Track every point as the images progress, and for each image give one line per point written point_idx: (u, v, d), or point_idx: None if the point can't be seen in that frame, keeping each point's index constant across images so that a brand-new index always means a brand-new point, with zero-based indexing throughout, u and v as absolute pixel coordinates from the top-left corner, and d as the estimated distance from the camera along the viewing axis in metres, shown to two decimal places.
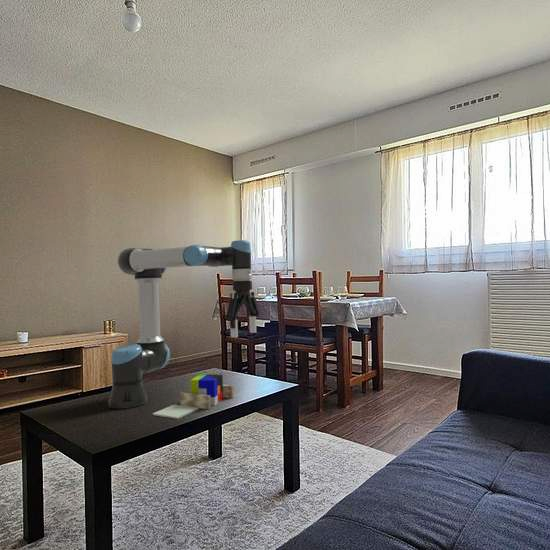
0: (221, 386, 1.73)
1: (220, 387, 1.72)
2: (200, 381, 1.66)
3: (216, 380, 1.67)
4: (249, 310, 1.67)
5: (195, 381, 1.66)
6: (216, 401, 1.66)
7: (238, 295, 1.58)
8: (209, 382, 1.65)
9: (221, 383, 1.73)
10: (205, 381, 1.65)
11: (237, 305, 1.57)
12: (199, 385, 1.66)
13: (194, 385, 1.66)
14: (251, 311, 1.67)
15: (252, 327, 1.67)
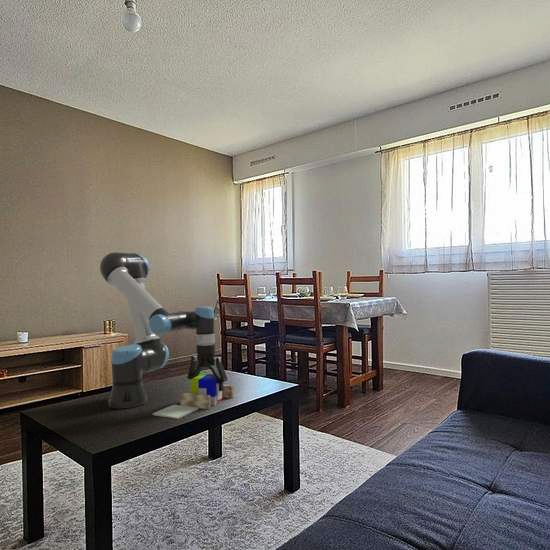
0: None
1: None
2: (200, 381, 1.66)
3: (216, 380, 1.67)
4: None
5: (195, 381, 1.66)
6: (216, 401, 1.66)
7: (197, 358, 1.72)
8: (209, 382, 1.65)
9: None
10: (204, 380, 1.65)
11: None
12: (199, 385, 1.66)
13: (194, 385, 1.66)
14: None
15: None
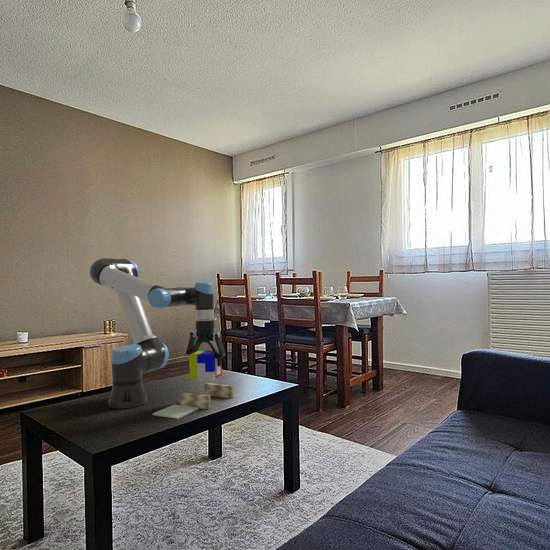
0: None
1: None
2: (199, 356, 1.66)
3: None
4: None
5: (194, 356, 1.66)
6: (214, 376, 1.66)
7: (196, 333, 1.72)
8: (208, 357, 1.65)
9: None
10: (203, 355, 1.66)
11: None
12: (198, 360, 1.66)
13: (193, 360, 1.67)
14: None
15: None
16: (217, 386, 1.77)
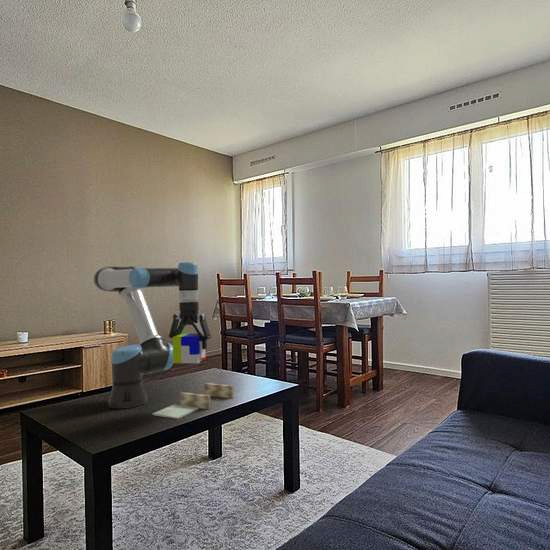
0: None
1: None
2: (183, 338, 1.60)
3: (199, 338, 1.61)
4: None
5: (177, 338, 1.60)
6: (199, 359, 1.61)
7: None
8: (192, 339, 1.59)
9: None
10: (187, 338, 1.59)
11: None
12: (181, 342, 1.60)
13: (177, 342, 1.60)
14: None
15: None
16: (217, 386, 1.77)
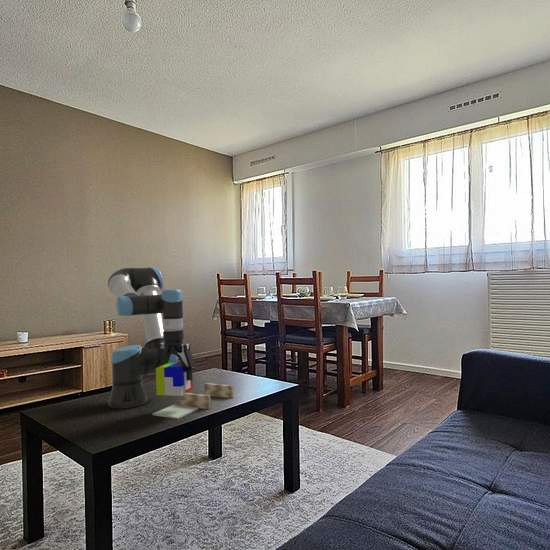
0: None
1: None
2: (166, 369, 1.53)
3: (183, 368, 1.54)
4: None
5: (161, 369, 1.53)
6: (183, 391, 1.53)
7: (164, 345, 1.59)
8: (175, 370, 1.52)
9: None
10: (171, 369, 1.52)
11: None
12: (165, 373, 1.53)
13: (160, 374, 1.53)
14: None
15: None
16: (217, 386, 1.77)
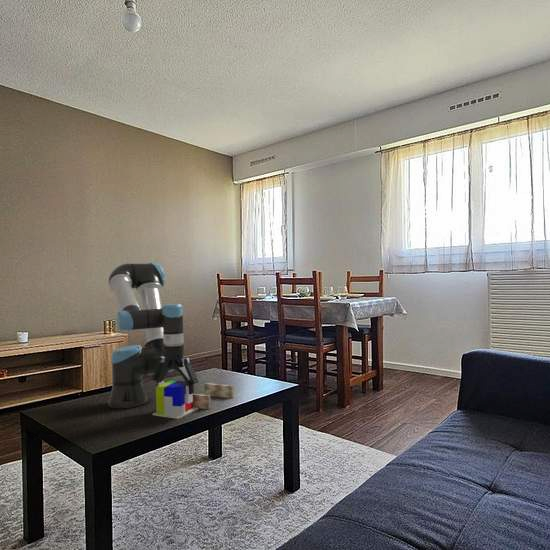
0: None
1: None
2: (166, 388, 1.53)
3: (183, 388, 1.54)
4: None
5: (160, 388, 1.53)
6: (183, 410, 1.53)
7: (164, 359, 1.59)
8: (175, 390, 1.52)
9: None
10: (170, 388, 1.52)
11: None
12: (165, 393, 1.53)
13: (160, 393, 1.53)
14: None
15: None
16: (217, 386, 1.77)
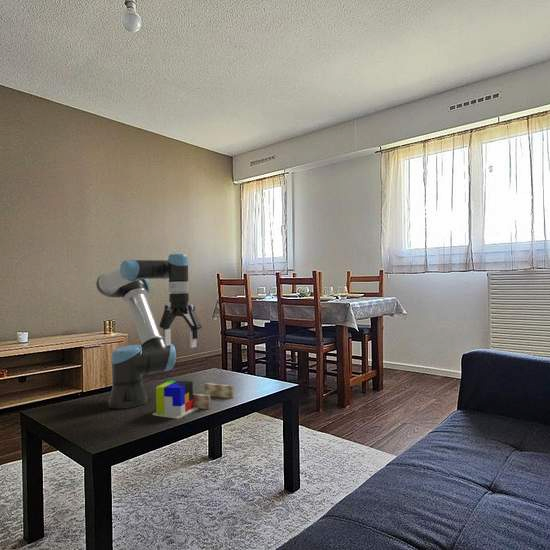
0: (191, 394, 1.59)
1: (189, 395, 1.58)
2: (166, 388, 1.53)
3: (183, 388, 1.54)
4: None
5: (160, 388, 1.53)
6: (183, 410, 1.53)
7: (170, 307, 1.66)
8: (175, 390, 1.52)
9: (191, 391, 1.60)
10: (170, 388, 1.52)
11: None
12: (165, 393, 1.53)
13: (160, 393, 1.53)
14: None
15: None
16: (217, 386, 1.77)
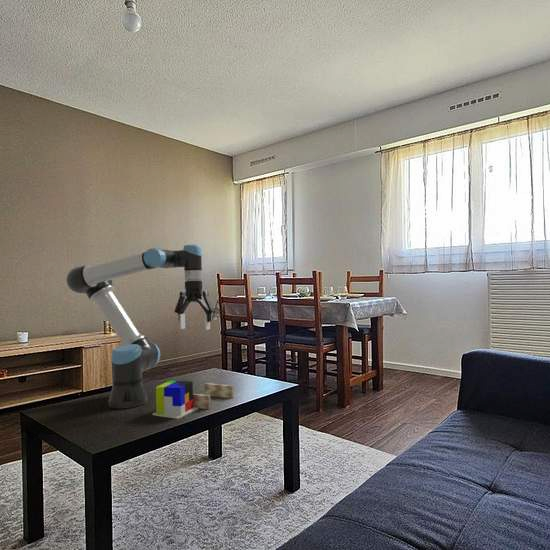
0: (191, 394, 1.59)
1: (189, 395, 1.58)
2: (166, 388, 1.53)
3: (183, 388, 1.54)
4: None
5: (160, 388, 1.53)
6: (183, 410, 1.53)
7: (185, 293, 1.82)
8: (175, 390, 1.52)
9: (191, 391, 1.60)
10: (170, 388, 1.52)
11: None
12: (165, 393, 1.53)
13: (160, 393, 1.53)
14: None
15: None
16: (217, 386, 1.77)
